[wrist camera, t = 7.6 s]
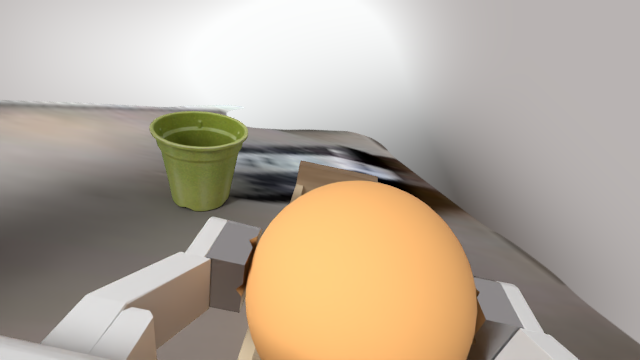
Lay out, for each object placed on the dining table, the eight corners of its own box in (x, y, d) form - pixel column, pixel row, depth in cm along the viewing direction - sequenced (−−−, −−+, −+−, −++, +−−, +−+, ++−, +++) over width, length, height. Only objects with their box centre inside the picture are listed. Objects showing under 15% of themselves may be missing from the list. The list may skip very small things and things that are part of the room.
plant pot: (256, 210, 36) (263, 141, 32) (169, 231, 31) (163, 151, 27) (225, 171, 42) (227, 109, 38) (147, 184, 37) (139, 112, 33)
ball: (191, 383, 9) (190, 206, 6) (298, 257, 14) (327, 127, 11) (402, 537, 7) (557, 395, 4) (436, 328, 12) (516, 195, 9)
